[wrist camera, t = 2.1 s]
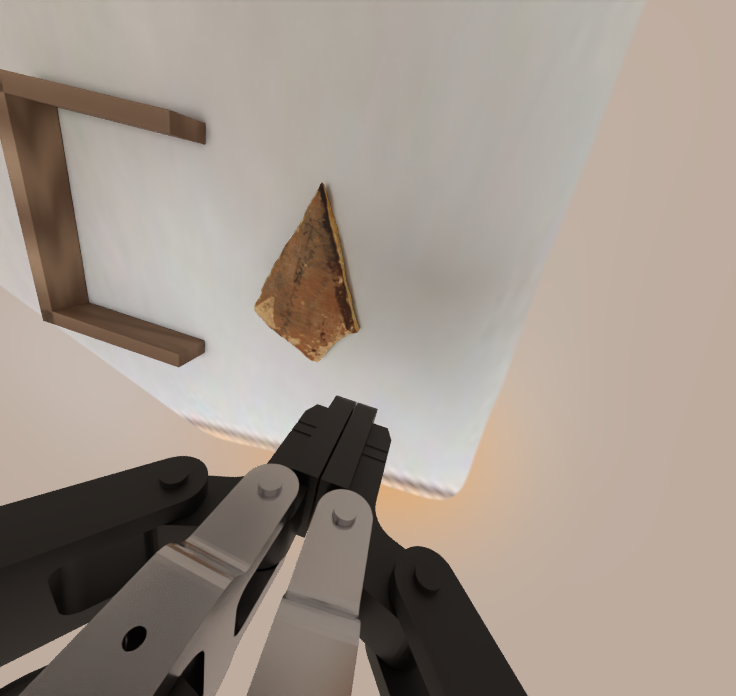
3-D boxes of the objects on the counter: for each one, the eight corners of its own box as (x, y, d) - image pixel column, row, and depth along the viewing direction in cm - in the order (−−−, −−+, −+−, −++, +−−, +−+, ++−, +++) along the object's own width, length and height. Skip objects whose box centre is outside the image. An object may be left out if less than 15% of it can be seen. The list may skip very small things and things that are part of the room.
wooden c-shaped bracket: (39, 82, 22) (-17, 65, 20) (205, 123, 21) (169, 110, 18) (79, 310, 30) (43, 320, 27) (204, 352, 28) (178, 367, 26)
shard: (329, 183, 21) (319, 180, 19) (417, 257, 22) (415, 260, 20) (258, 304, 26) (245, 310, 24) (331, 363, 26) (324, 372, 25)
